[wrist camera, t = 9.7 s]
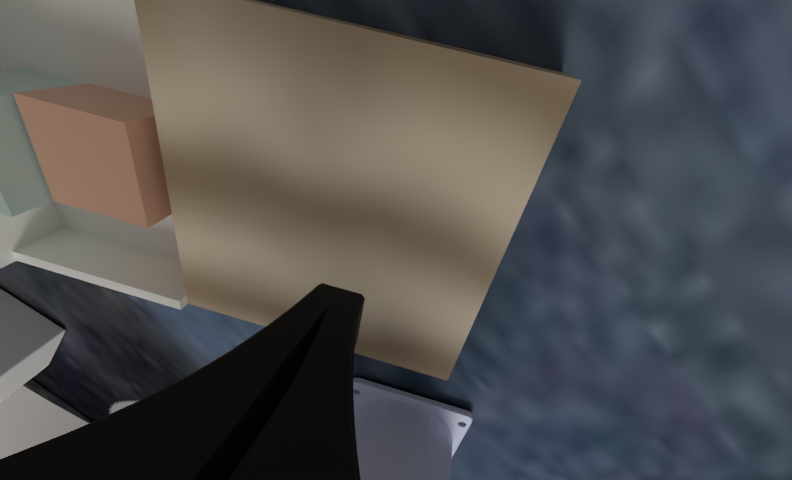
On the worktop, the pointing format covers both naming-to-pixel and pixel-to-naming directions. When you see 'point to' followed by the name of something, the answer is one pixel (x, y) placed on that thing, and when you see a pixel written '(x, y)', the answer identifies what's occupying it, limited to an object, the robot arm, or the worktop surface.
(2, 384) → the milk carton
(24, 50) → the tray
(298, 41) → the beech board
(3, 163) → the sage green cube
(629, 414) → the worktop surface
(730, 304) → the worktop surface
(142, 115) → the salmon pink cube
